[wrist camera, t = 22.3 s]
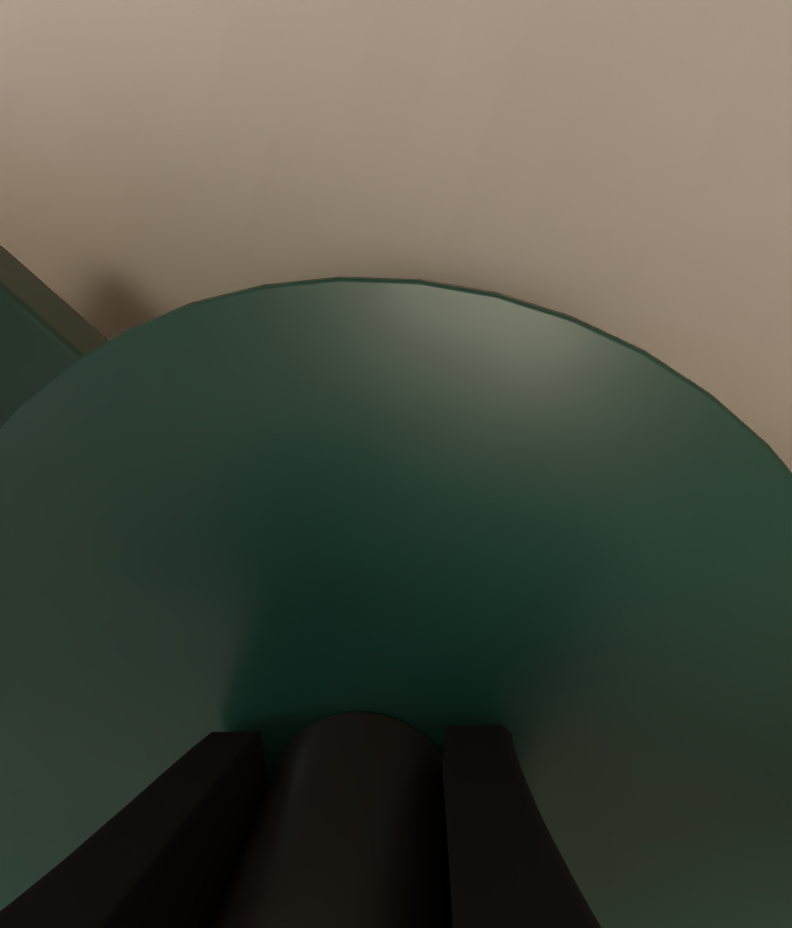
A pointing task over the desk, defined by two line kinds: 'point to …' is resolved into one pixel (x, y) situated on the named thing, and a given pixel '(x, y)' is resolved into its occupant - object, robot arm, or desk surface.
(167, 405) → the lid
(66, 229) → the desk surface
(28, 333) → the pot
